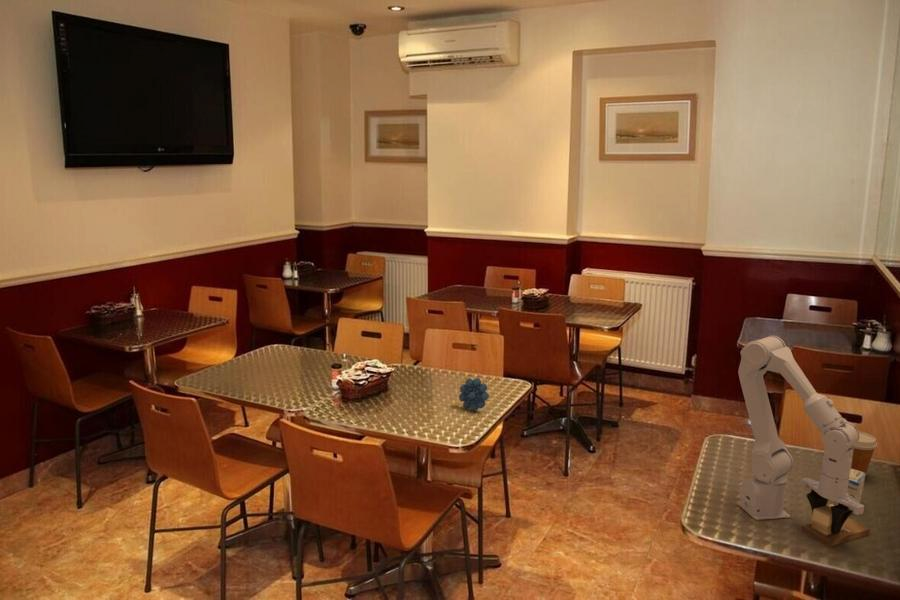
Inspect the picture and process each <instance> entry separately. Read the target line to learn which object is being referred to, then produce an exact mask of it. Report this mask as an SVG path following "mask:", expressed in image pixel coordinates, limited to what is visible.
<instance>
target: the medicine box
mask: <svg viewBox="0 0 900 600" xmlns="http://www.w3.org/2000/svg"><path fill="white" fill-rule="evenodd" d="M865 478H866V475H865V473H864V472H861V471H858V470H854V469H851V470H850V476H849V482H848V488H847V494H848V495H850V496H851V497H852V498H854V499H855V500H856V501H857V502H859V503H860V504H861V500H862V494H863V490H864V485H865V480H866V479H865ZM835 505H838V503H836V502H835ZM852 514H853V515H855V514H854V513H852ZM852 514H851V515H852Z"/></svg>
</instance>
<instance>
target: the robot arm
mask: <svg viewBox="0 0 900 600" xmlns="http://www.w3.org/2000/svg"><path fill="white" fill-rule="evenodd" d="M739 352H740V357H741V358H740V363H739V366H738V371H737V373H738V377H739V383H740V387H741V389H742V390H741V391H742V394H743V398H744V401H745V407H746V410H747V415H748V419H749V422H750V426H751V430H752V435H753V438H754V444H753V447H752V450H751V457H752V461H751V471H752V474H753V476H751V477H748V478H744V480H743V482H742V484H741V492H740V499H739V500H740V501H738V502H737V504H738V506H739V507H741V508H742V509H743V510H744V511H745V512H746V513H747V514H748V515H750V516H751V517H752V519H754V520H756V521H757V520H760V521H761V520H771V519H772V520H773V519H774V520H775V519H787V518H791V515H790V514H789V513H788V512H786V511H785V509H784V503H785V497H786V495H785V494H786V488H787V481H788V478H787V475H788V473H789V472H791V471H792V469H793V468H794V458H793V457H792V456H793V455H791V454H790V452H789V451H788V448H787V446H786V443H785V442H784V441H783V440H781V439H780V438H779V434H778V431H777V427H776V423H775V418H774V415H773V411H772V406H771V403H770V399H769V395H768V392H767V388H766V386H767V385H766V382H765V379H764V375H765V374H766V373H767V372H768V371H769V372H772V373H776V374H780V375H781V376H782V377H783V378H784V380H785V381H786V382H787V383H788V384H789V385H790V386H791V387H792V389H793V390H794V391H795V393H796V394H797V395H798V396H799V397H800V399H801V400H802V401H803V405H802V408H803V410H804V412H805V413H806V415H807V416H808V418H809V419H810V420H811V421H812V423H813V425H815V427H816V428H817V430H818V431H819V432H820V433H821V442H822V445H823V446H824V451H823V457H822V463H821V464H822V465H821V470H820V477H819V481H817V480H815V479H813V478H810V477H805V478H802V480H801V487H802V488H804V489H805V488H807V489H809V490H810V492H809V493H807V494H806V499H807V500H808V502H809V505H810V508H811V512H812V513H813V511H814V509H815V508H819V507H822V506H826V505H828V501H832V502H834V503H835V505H834V506H831V511H832V525H831V533H833V534H836V533H840V530H841V528H842V526H843V524H844V523H845V521H846V520H847V518H848V517H849V518H850V516H851V515H852V513H854V514H853V515H857V516H858V515H859V516H860V515H862V514H864V512H865V505H864V504H862V503H861V502H860V503H859V502H857V501H856V500H855V499H854V498H852V497H851V496H850V495H848V494H847V488H848V482H849V476H850V470H851V464H852V456H853V449H854V448H851V447H853V446H854V445H856V444H857V443H858V441H859V438H860V435H859V432H858V431H859V430H858V428H857V426H856V425H855V424H854V423H851V422H849V421H848V420H847V419H846V418H844V417H842V415H841V414H840V413H839V411H838V410H837V409H836V407H835V406H834V404H835V403H834V401H833V400H832V399H831V398H828V397H827V396H826V395H825V394H821V393H818V392H817V391H816V389H815V388H814V386H813V385H812V384H811V382H810V380H809V379H808V378H807V377H806V375H805V373H804V372H803V370H802V368H801V367H800V366H799V364H798V363H797V362H796V360H795V358H794V356H793V353H792V350H791V348H789V347H788V346H787V345H786V344H785V341H784V340H783V339H782V338H780V337H779V336H777V335H768V336H766V337H764V338H760V339H757V340H751V341H749V342H747V343H746V345H745V346H744V347H743V348H742V349H741V350H740V351H739ZM836 503H838V505H836Z"/></svg>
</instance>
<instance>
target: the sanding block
mask: <svg viewBox="0 0 900 600" xmlns="http://www.w3.org/2000/svg"><path fill="white" fill-rule="evenodd" d="M831 506H835V505H834V504H833V503H830V504H827V505H826V506H822V507H819V508H815V509H814V511H813V512H812V517H811V518H812V520H811V524H812V525H811V528H812V529H813V530H815V531H817V532H819V533H820V534H822V535H824V536H825V537H827V536H831V535H834V534H833V533H831V525H832V511H831ZM844 527H845V523H844V524H843V526H842V528H841V530H840V532H844ZM836 534H837V533H836Z"/></svg>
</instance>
